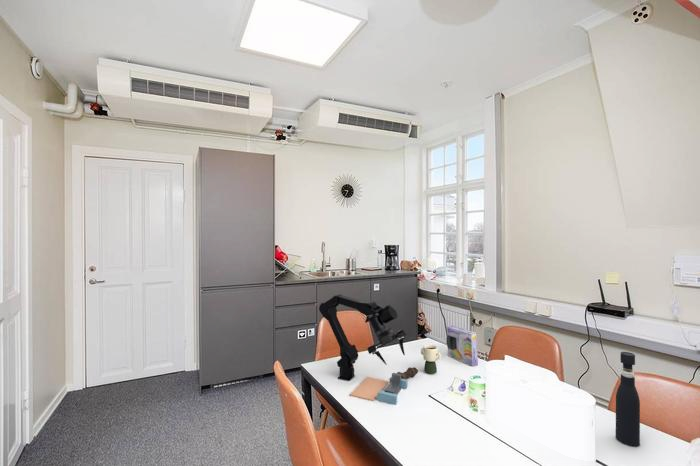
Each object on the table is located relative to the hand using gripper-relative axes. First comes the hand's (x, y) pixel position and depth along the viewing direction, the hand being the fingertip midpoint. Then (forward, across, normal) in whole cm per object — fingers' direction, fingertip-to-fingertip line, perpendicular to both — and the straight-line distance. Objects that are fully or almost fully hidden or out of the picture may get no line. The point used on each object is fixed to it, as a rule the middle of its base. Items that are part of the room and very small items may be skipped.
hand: (395, 359), depth 150 cm
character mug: (+15, +15, +25) cm, 33 cm away
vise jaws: (+12, -7, +2) cm, 14 cm away
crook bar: (+12, -8, +2) cm, 15 cm away
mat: (+6, -16, +7) cm, 18 cm away
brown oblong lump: (+12, +3, +18) cm, 21 cm away
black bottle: (+55, +57, -27) cm, 84 cm away
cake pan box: (+20, +36, +41) cm, 58 cm away
